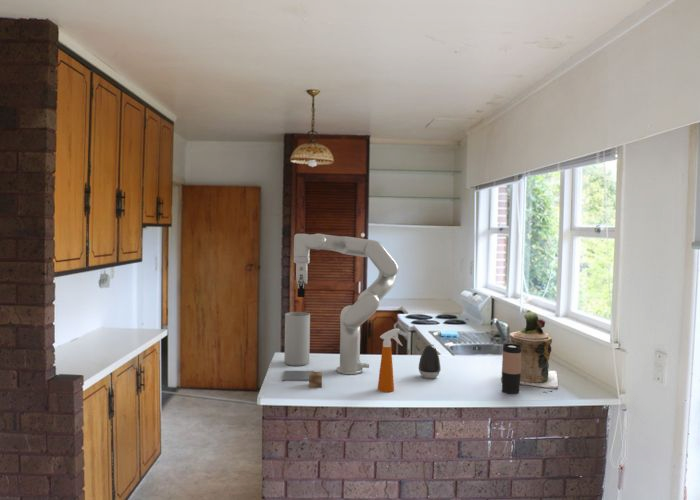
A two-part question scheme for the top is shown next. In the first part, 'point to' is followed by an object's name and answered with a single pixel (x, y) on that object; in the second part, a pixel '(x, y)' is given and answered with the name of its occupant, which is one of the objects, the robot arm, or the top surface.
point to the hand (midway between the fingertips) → (301, 295)
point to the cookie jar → (535, 353)
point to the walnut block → (315, 379)
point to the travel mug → (511, 368)
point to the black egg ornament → (429, 362)
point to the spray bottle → (387, 362)
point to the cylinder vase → (297, 338)
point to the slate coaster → (296, 375)
